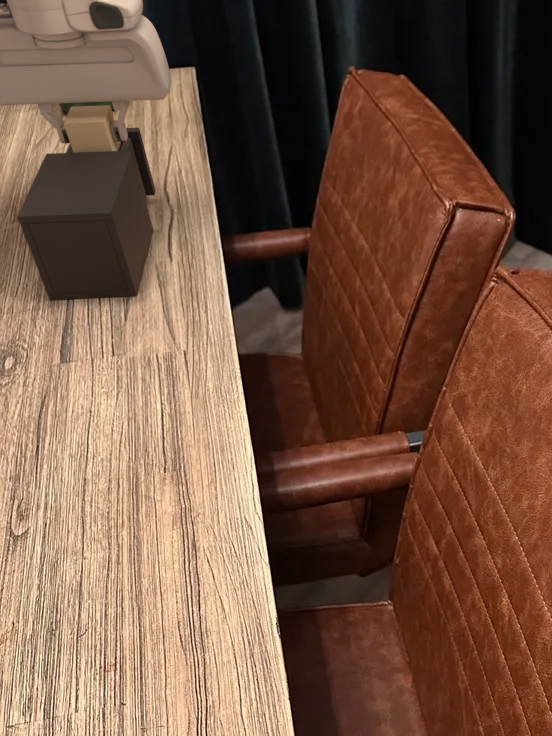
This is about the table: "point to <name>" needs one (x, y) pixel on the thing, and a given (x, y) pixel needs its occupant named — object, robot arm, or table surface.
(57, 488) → the table surface
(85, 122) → the block
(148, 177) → the drawer
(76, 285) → the cabinet
